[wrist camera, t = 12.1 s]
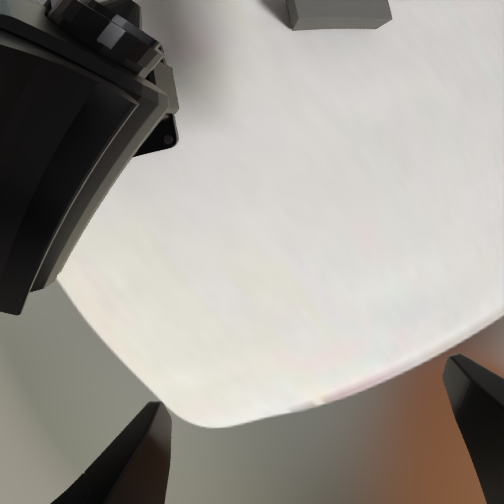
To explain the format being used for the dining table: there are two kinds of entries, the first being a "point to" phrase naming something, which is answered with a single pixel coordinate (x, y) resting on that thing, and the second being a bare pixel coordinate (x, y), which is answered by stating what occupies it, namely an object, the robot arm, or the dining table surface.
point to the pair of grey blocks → (338, 14)
